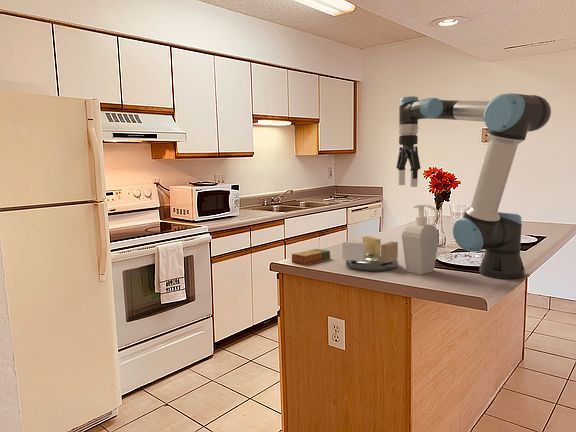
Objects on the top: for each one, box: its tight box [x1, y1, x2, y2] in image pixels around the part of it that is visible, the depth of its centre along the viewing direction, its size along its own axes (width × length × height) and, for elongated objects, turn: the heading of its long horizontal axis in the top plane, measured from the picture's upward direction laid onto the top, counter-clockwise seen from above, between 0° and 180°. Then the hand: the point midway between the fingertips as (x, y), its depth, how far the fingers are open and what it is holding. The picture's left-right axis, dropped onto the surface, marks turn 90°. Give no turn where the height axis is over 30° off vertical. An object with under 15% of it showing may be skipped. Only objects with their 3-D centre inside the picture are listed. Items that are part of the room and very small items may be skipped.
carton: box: [291, 248, 331, 266], centre depth 193 cm, size 8×16×4 cm, turn 135°
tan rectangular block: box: [380, 241, 399, 263], centre depth 177 cm, size 9×3×8 cm, turn 140°
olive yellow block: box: [362, 235, 382, 256], centre depth 190 cm, size 9×3×8 cm, turn 26°
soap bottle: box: [401, 203, 440, 275], centre depth 170 cm, size 12×10×26 cm
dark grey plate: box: [345, 254, 399, 273], centre depth 183 cm, size 21×21×3 cm
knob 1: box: [341, 241, 367, 262], centre depth 179 cm, size 9×3×8 cm, turn 64°
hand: (407, 186), depth 189 cm, fingers open, 13 cm apart
